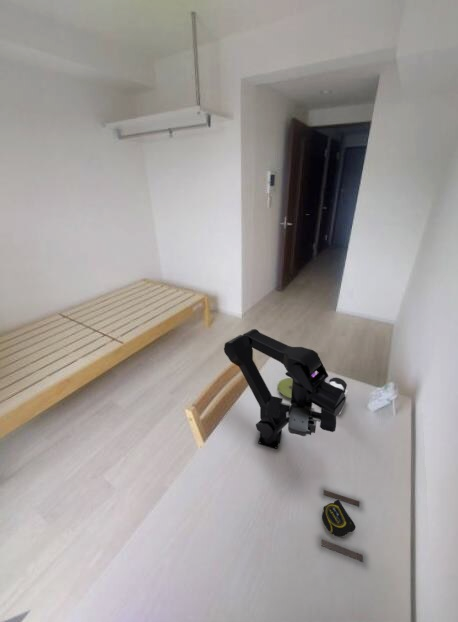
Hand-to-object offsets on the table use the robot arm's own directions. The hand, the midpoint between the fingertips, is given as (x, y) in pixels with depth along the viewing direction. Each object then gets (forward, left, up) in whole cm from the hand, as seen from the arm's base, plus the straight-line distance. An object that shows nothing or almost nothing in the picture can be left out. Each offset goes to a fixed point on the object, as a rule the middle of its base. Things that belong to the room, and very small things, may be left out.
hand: (297, 433), depth 79 cm
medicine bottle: (+11, +26, -12) cm, 31 cm away
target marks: (+13, -14, -12) cm, 22 cm away
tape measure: (+13, -14, -12) cm, 22 cm away
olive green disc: (-5, +29, -11) cm, 31 cm away
